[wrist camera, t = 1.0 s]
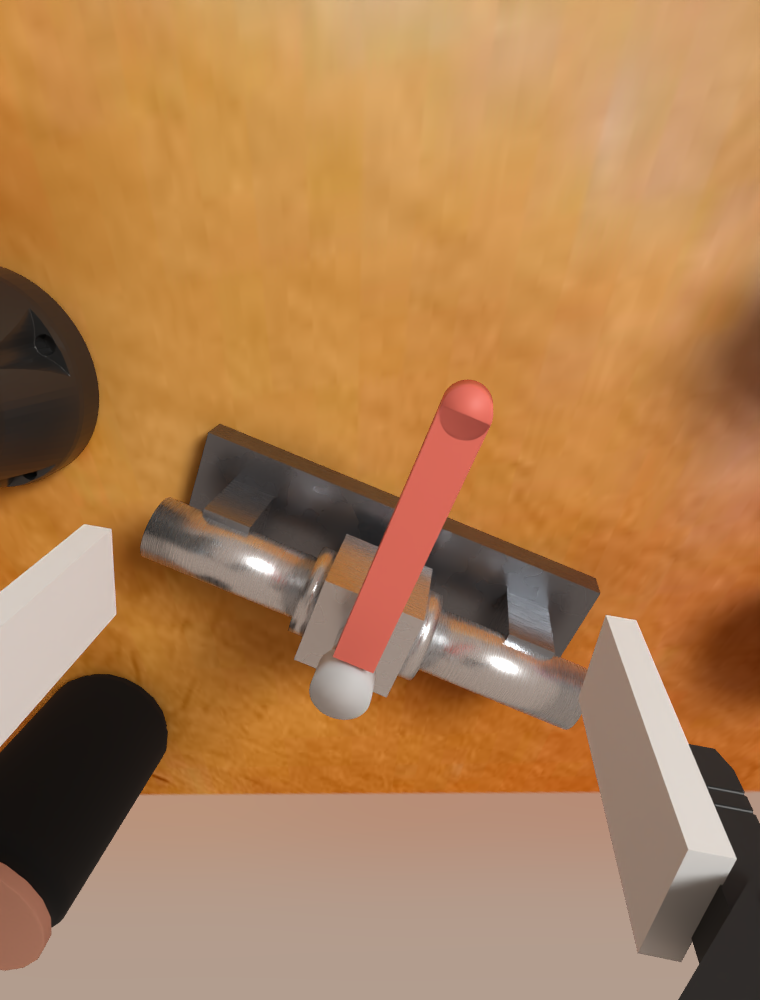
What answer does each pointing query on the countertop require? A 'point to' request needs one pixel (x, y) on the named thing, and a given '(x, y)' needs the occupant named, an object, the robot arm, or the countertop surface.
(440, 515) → the valve lever
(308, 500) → the valve stand
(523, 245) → the countertop surface
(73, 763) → the coffee jar
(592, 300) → the countertop surface
